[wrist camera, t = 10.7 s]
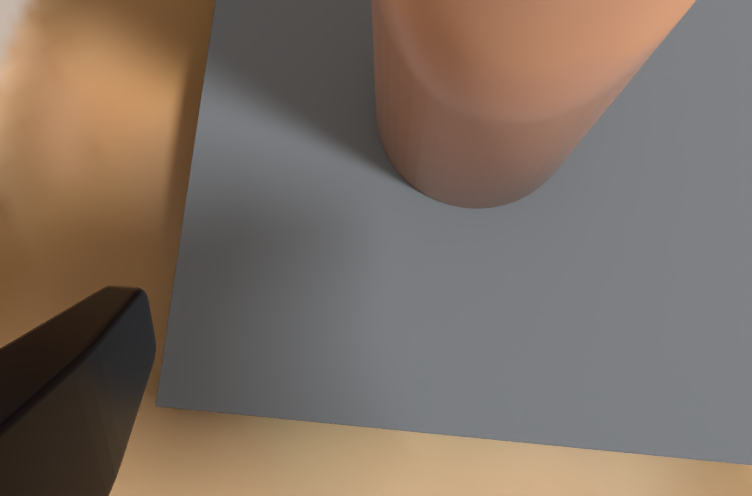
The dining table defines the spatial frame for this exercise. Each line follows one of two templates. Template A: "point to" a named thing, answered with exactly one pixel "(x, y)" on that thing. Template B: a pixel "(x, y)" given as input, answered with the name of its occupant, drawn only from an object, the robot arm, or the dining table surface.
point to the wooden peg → (502, 86)
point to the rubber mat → (468, 254)
